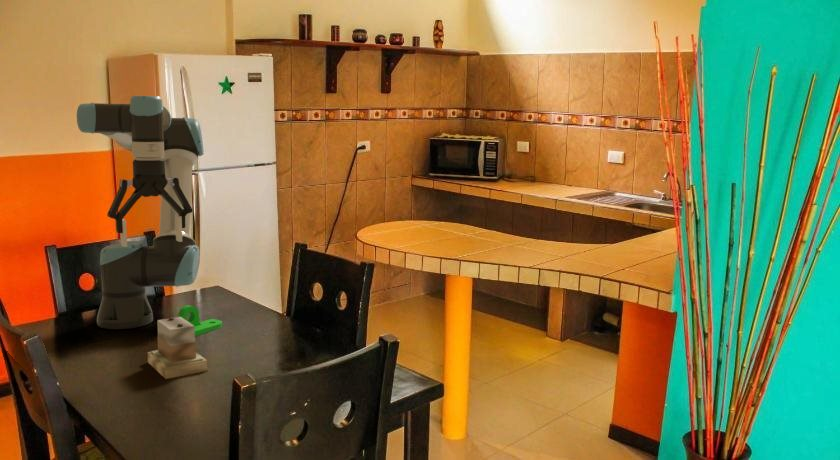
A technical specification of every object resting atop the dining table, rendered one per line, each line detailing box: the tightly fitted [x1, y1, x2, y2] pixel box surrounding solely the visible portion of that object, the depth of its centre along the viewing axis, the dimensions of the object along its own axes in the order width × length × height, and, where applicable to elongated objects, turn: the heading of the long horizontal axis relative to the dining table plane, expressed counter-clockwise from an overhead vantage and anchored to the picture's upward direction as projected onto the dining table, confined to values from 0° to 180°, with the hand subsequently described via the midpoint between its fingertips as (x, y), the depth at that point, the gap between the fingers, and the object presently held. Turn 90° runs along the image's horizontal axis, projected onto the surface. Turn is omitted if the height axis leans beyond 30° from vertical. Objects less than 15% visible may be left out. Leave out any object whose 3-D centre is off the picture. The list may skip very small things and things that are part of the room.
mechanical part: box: [177, 304, 223, 337], centre depth 210 cm, size 12×6×8 cm, turn 147°
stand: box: [147, 349, 208, 380], centre depth 181 cm, size 14×10×3 cm
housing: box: [156, 316, 197, 363], centre depth 180 cm, size 6×10×8 cm, turn 36°
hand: (152, 243), depth 187 cm, fingers open, 13 cm apart
